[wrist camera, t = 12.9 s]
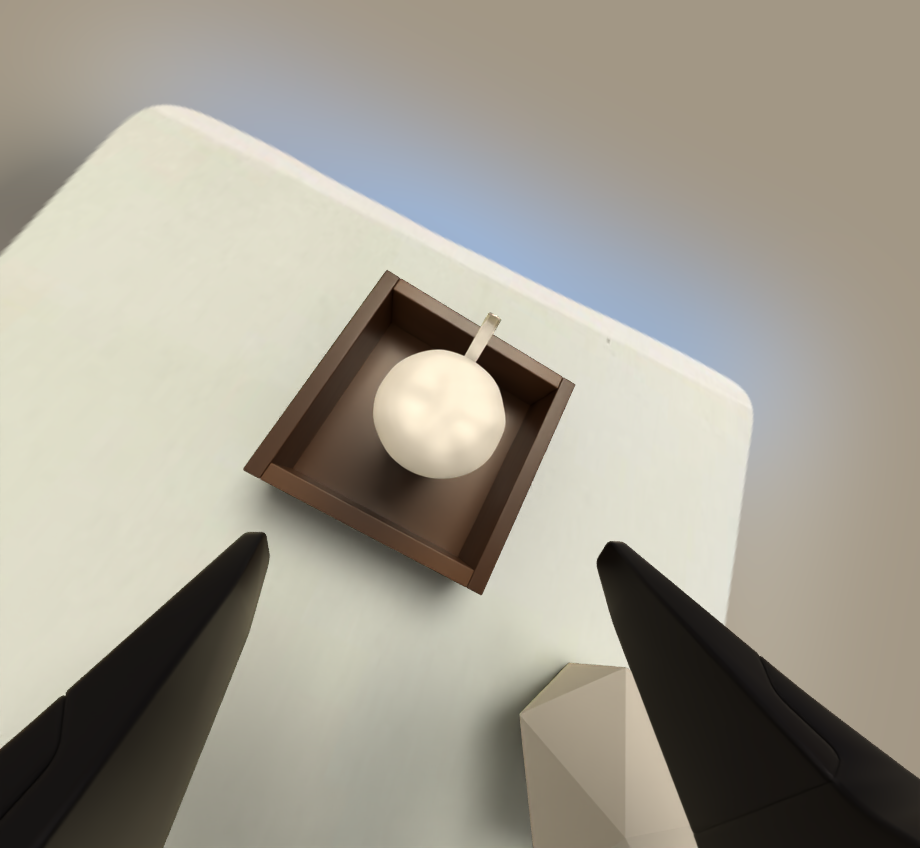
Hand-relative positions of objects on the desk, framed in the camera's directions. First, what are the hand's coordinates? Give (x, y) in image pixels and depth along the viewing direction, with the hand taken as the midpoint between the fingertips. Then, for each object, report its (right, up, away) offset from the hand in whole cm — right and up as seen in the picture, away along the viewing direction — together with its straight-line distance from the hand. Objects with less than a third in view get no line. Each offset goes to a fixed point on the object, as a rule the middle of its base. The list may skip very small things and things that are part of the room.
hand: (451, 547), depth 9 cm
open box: (-2, +3, +11) cm, 12 cm away
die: (+6, -13, +10) cm, 18 cm away
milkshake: (-2, +2, +11) cm, 11 cm away
